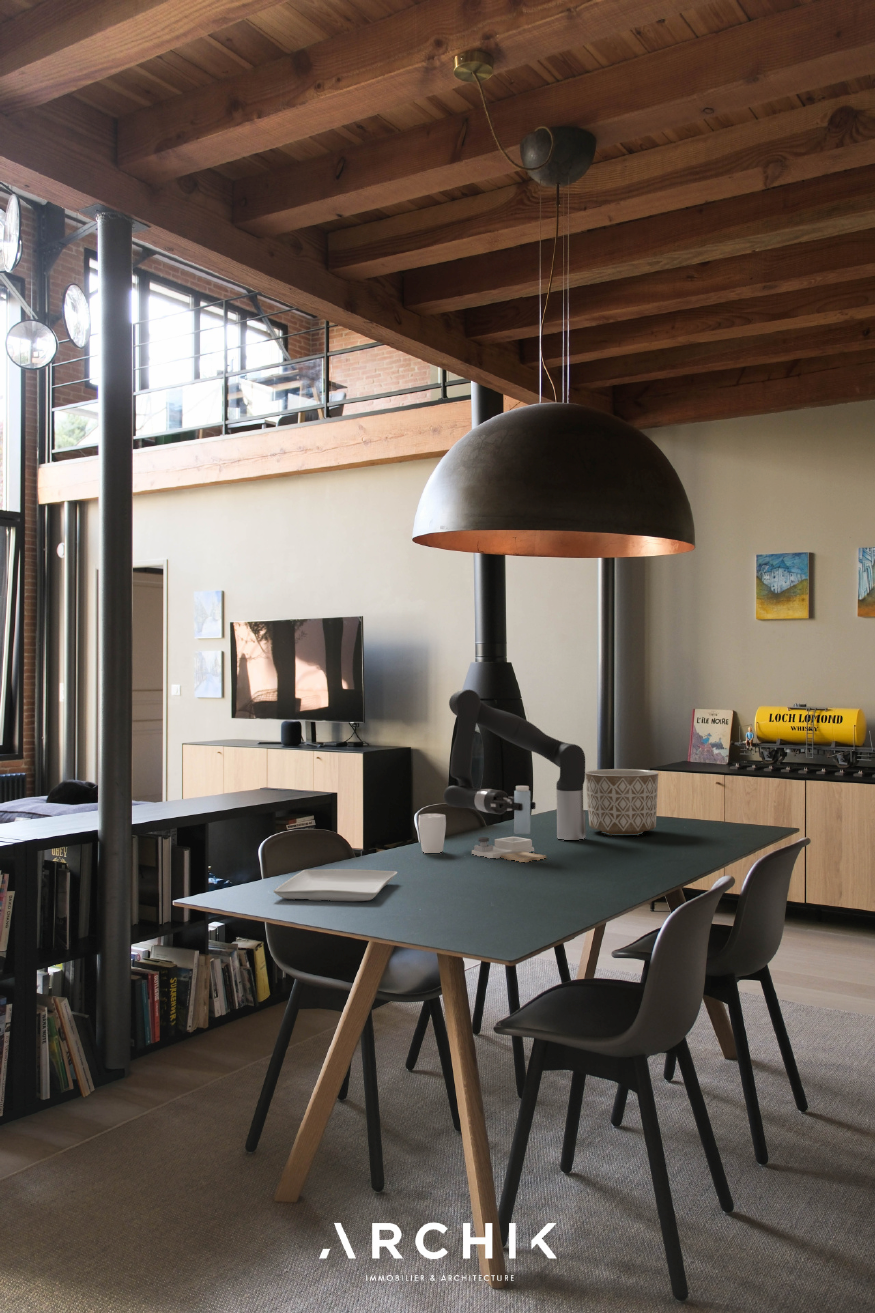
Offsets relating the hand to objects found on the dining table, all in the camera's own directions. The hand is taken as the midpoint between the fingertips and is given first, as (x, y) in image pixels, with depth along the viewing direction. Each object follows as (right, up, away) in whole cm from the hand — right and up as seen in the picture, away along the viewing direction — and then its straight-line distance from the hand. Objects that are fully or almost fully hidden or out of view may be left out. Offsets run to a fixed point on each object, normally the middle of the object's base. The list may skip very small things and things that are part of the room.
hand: (528, 806), depth 306 cm
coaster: (-1, -17, +2) cm, 17 cm away
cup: (-30, -17, +15) cm, 37 cm away
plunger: (-13, -15, +9) cm, 22 cm away
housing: (-7, -17, +11) cm, 21 cm away
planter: (+39, -18, +51) cm, 66 cm away
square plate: (-55, -17, -44) cm, 72 cm away
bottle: (-2, -9, +2) cm, 9 cm away
